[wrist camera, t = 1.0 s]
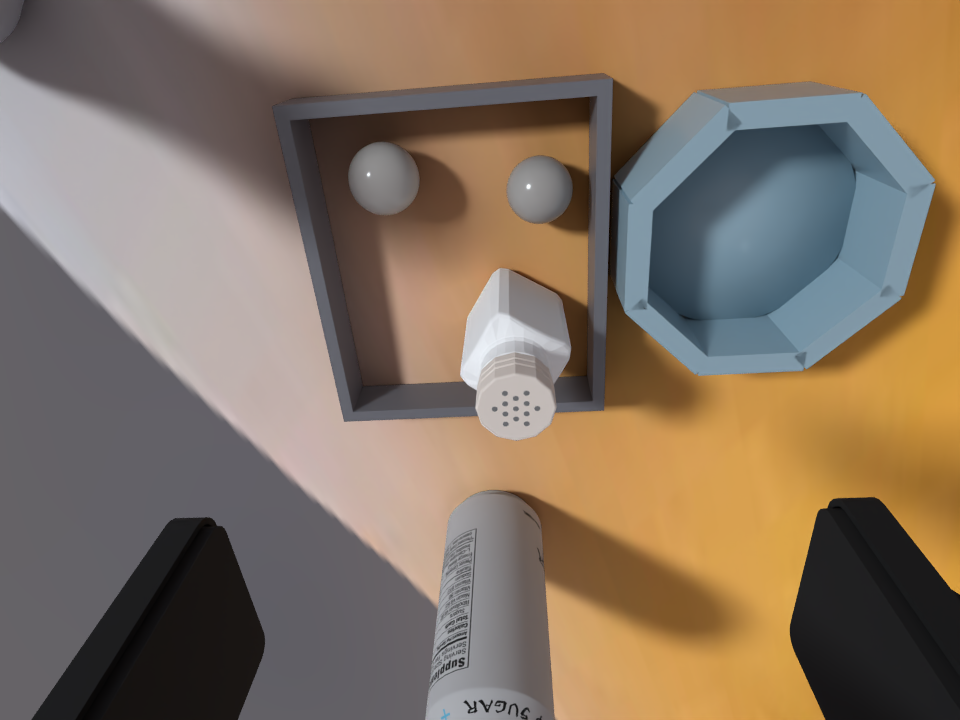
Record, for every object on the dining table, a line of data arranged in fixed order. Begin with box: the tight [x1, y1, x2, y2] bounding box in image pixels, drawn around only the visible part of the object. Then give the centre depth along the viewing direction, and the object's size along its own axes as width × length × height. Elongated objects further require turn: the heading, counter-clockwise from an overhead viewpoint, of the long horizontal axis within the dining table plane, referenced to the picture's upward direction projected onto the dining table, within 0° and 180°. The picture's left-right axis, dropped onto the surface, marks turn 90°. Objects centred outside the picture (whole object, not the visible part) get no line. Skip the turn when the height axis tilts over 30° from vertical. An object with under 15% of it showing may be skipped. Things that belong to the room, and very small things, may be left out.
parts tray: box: [272, 73, 613, 422], centre depth 30 cm, size 16×14×3 cm
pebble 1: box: [348, 142, 420, 215], centre depth 28 cm, size 3×3×3 cm
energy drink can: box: [425, 490, 555, 720], centre depth 33 cm, size 6×6×15 cm
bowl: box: [610, 81, 936, 376], centre depth 28 cm, size 12×12×4 cm
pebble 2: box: [507, 155, 573, 224], centre depth 28 cm, size 3×3×3 cm
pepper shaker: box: [460, 268, 571, 441], centre depth 28 cm, size 4×4×10 cm
